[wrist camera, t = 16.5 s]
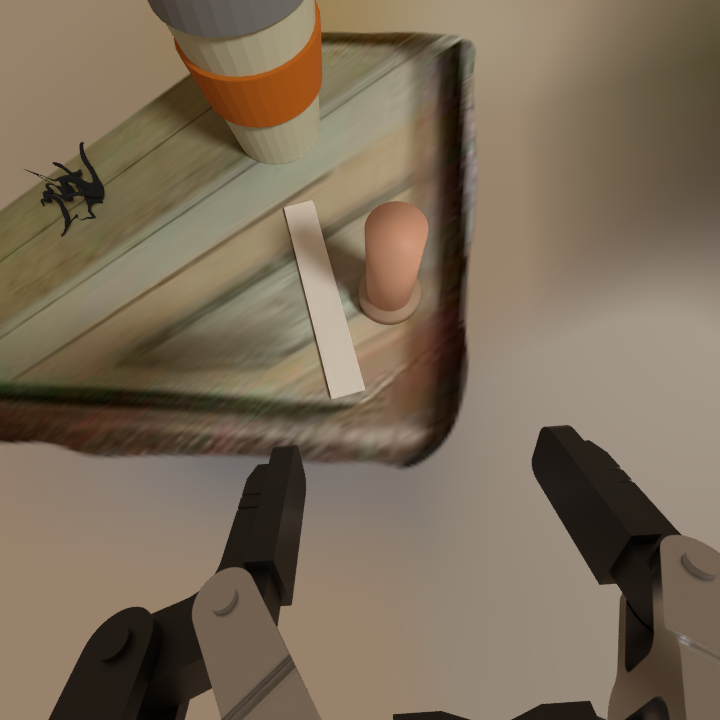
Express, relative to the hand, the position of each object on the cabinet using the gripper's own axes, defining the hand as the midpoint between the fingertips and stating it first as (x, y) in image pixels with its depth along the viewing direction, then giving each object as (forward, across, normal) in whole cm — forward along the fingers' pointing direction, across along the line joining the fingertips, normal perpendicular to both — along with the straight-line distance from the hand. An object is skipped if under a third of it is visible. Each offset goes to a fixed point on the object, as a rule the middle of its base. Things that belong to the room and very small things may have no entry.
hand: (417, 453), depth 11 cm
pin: (+21, -1, +2) cm, 21 cm away
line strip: (+22, +5, +2) cm, 23 cm away
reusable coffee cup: (+36, +9, -12) cm, 39 cm away
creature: (+31, +30, -6) cm, 44 cm away
